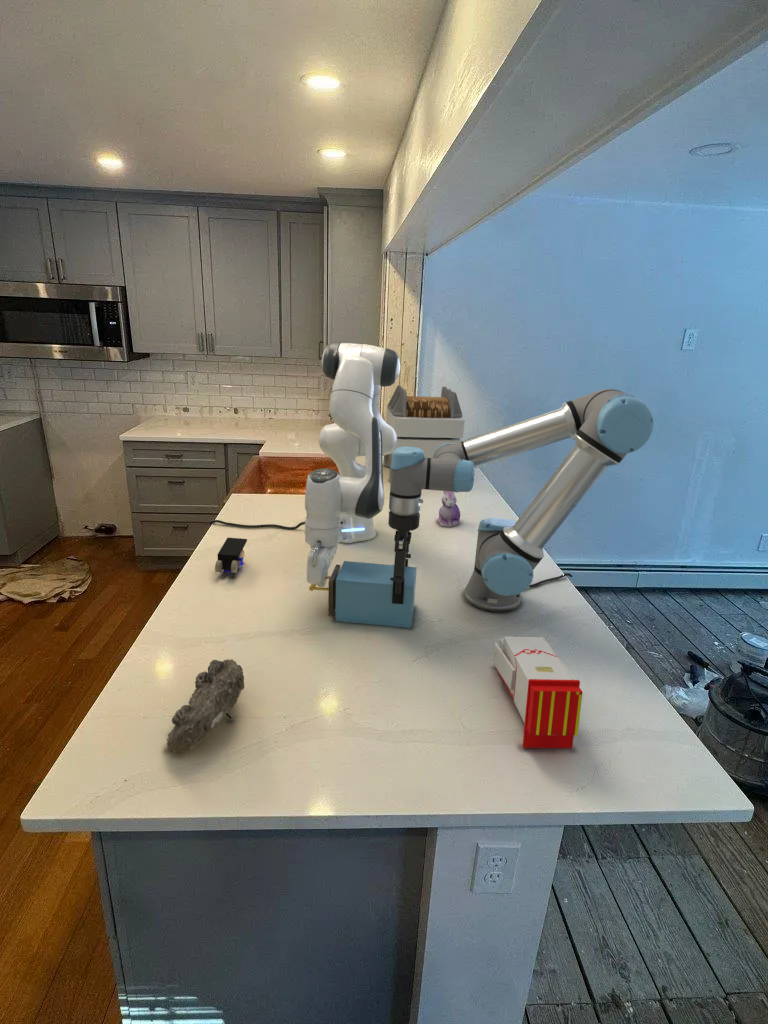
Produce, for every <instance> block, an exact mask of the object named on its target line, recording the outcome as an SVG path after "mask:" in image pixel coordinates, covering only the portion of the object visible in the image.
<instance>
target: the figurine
mask: <svg viewBox="0 0 768 1024" xmlns="http://www.w3.org/2000/svg"><path fill="white" fill-rule="evenodd" d="M457 501H458V500H457V497H456V495H455V492H451V491H443V495H442V497H441V503H442V506H441V507H440V508H439V510H438V519H437V523H438V524H439V525H440V526H441V527H446V528H449V527H455V526H457V525H458V524H459V523H460V518H461V511H460V508H459V506H458V504H456V503H457Z"/></svg>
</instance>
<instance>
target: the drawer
mask: <svg viewBox="0 0 768 1024" xmlns="http://www.w3.org/2000/svg"><path fill="white" fill-rule="evenodd" d="M341 567H342V564H335V566H334V568H333V571H332V572H331V574H330V575H329V576H328V575H327V580H328V586H327V587H325V586H324V587H319V586H317V584H310V585H309V587H308V590H309V592H313V591H324V592H327V595H328V597H327V601H328V602H327V616H328V617H333V616H334V614H335V613H336V579H337V576H338V574H339V572H340V569H341Z"/></svg>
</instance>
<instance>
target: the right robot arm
mask: <svg viewBox="0 0 768 1024" xmlns="http://www.w3.org/2000/svg"><path fill="white" fill-rule="evenodd" d="M652 413H653V412H652V411H651V409H650V408H649V406H648V405H647V404H645V402H643V401H642V400H641V399H640V398H639V397H636V396H634V395H632V394H629V393H626V392H624V391H622V390H620V389H615V388H605V389H600V390H596V391H593V392H590V393H588V394H584V395H582V396H579V397H577V398H574V399H571V400H568V401H565V402H563V403H562V405H561V406H560V408H557V409H554V410H551V411H549V412H545V413H543V414H539V415H537V416H534V417H531V418H527V419H525V420H522V421H519V422H516V423H513V424H511V425H507V426H504V427H501V428H497V429H495V430H492V431H488V432H486V433H483V434H480V435H477V436H475V437H472V438H471V437H470V438H468V439H466V440H462V442H459V443H456V444H448V443H447V444H443V445H441V446H439V447H438V448H437V449H436V451H435V453H434V456H433V458H428V459H427V458H426V457H425V456H424V451H423V450H422V449H420V448H417V447H409V446H405V447H398V448H396V449H395V450H394V451H393V453H392V463H391V480H390V479H389V481H390V484H389V498H388V499H389V500H388V510H389V511H388V522H387V523H388V527H390V528H391V529H393V530H395V534H394V538H393V540H394V549H393V551H394V563H393V565H394V574H393V578H390V580H393V594H392V603H393V604H403V598H404V582H405V578H404V573H405V566H409V559H412V554H411V553H409V552H410V544H411V539H412V533H413V532H412V531H415V530H417V529H418V528H419V527H420V519H421V518H420V517H421V513H420V511H421V504H423V503H424V499H423V498H422V491H423V490H426V491H440V492H444V491H451V492H454V493H469V492H471V491H472V490H473V487H474V481H475V469H476V468H480V467H483V466H486V465H489V464H492V463H495V462H499V461H501V460H505V459H508V458H511V457H514V456H518V455H520V454H523V453H526V452H530V451H533V450H536V449H538V448H543V447H545V446H548V445H550V444H554V443H558V442H562V441H563V440H566V439H572V440H575V445H574V446H573V447H572V449H570V452H569V453H568V454H567V456H566V457H565V458H564V459H563V461H562V462H561V463H560V465H559V466H558V467H557V468H556V470H555V471H554V472H553V474H552V475H551V476H550V477H549V479H548V480H547V481H546V483H545V484H544V486H543V487H542V488H541V489H540V491H539V492H538V493H537V495H536V496H535V497H534V498H533V499H532V501H531V502H530V504H529V505H528V506H527V508H526V509H525V510H524V512H523V513H522V514H521V515H520V517H519V518H518V519H517V520H513V519H508V518H501V517H489V518H484V519H481V520H480V521H479V523H478V528H477V540H476V549H475V556H474V557H475V558H474V568H473V571H472V574H471V576H470V577H469V580H468V582H467V584H466V586H465V589H464V598H465V600H466V601H467V602H468V603H469V604H470V605H472V606H474V607H476V608H477V609H481V610H483V611H489V612H495V613H496V612H497V613H498V612H499V613H503V612H510V611H513V610H515V609H517V608H518V607H519V606H520V605H521V601H522V593H524V592H525V591H526V590H528V589H529V588H534V587H537V586H540V585H542V584H545V583H548V582H552V581H556V580H560V579H562V578H565V577H566V576H568V577H569V578H573V575H572V574H571V573H569V572H566V573H563V574H564V576H563V574H561V575H558V576H556V577H551V578H547V579H543V580H540V581H538V582H536V583H532V582H533V579H534V570H535V569H536V567H538V565H539V564H540V562H542V560H543V558H544V557H545V555H544V547H545V545H546V544H547V543H548V542H549V541H550V539H551V538H552V537H553V535H555V533H556V532H557V530H559V528H560V527H561V525H562V524H563V523H564V522H565V520H566V519H567V518H568V517H569V516H570V514H571V513H572V512H573V510H575V508H576V507H577V506H578V505H579V503H580V502H581V501H582V499H583V498H584V497H585V496H586V495H587V493H588V492H589V491H590V490H591V488H592V487H593V486H594V484H595V483H596V482H597V480H598V479H600V477H601V476H602V474H603V473H605V470H607V469H608V467H611V466H612V467H613V466H617V465H619V464H620V463H621V462H622V461H623V460H624V458H625V457H626V456H627V454H630V453H633V452H637V451H638V450H640V449H641V448H642V447H644V446H645V445H646V444H647V443H648V441H649V440H650V438H651V436H652V434H653V430H654V417H653V414H652Z"/></svg>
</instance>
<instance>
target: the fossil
mask: <svg viewBox="0 0 768 1024" xmlns="http://www.w3.org/2000/svg"><path fill="white" fill-rule="evenodd" d="M243 670H244V669H243V667H242V665H240V664H237V662H236V661H235V660H234V659H232V658H231V659H227V658H226V659H224V660H223V661H222V660H217V659H212V660H211V661H210V663H209V665H208V666H207V671H201V672H199V673H198V674H197V675H196V676H195V680H194V684H195V685H194V687H195V689H194V690H193V693H192V694H191V697H190V698H189V700H188V704H184V705H182V706H181V707H180V709H177V710H176V711H175V713H174V715H173V716H172V718H171V723H172V724H173V727H172V730H171V731H170V732H168V734H167V738H166V741H167V742H166V745H167V749H168V750H169V751H173V752H174V753H176V754H178V753H182V752H188V751H189V752H192V751H193V750H195V748H196V747H197V746H199V744H200V743H201V742H203V741H204V740H205V739H206V738H207V737H208V736H209V735H210V734H211V733H212V732H214V730H215V729H217V727H218V726H219V724H220V722H221V721H222V720H223V719H224V718H225V716H226V717H227V719H229V720H233V717H232V715H230V714H229V710H230V709H231V708H234V706H235V704H236V703H237V702H238V699H239V697H240V695H241V693H242V691H243V690H245V689H244V688H245V675H244V671H243Z"/></svg>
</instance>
